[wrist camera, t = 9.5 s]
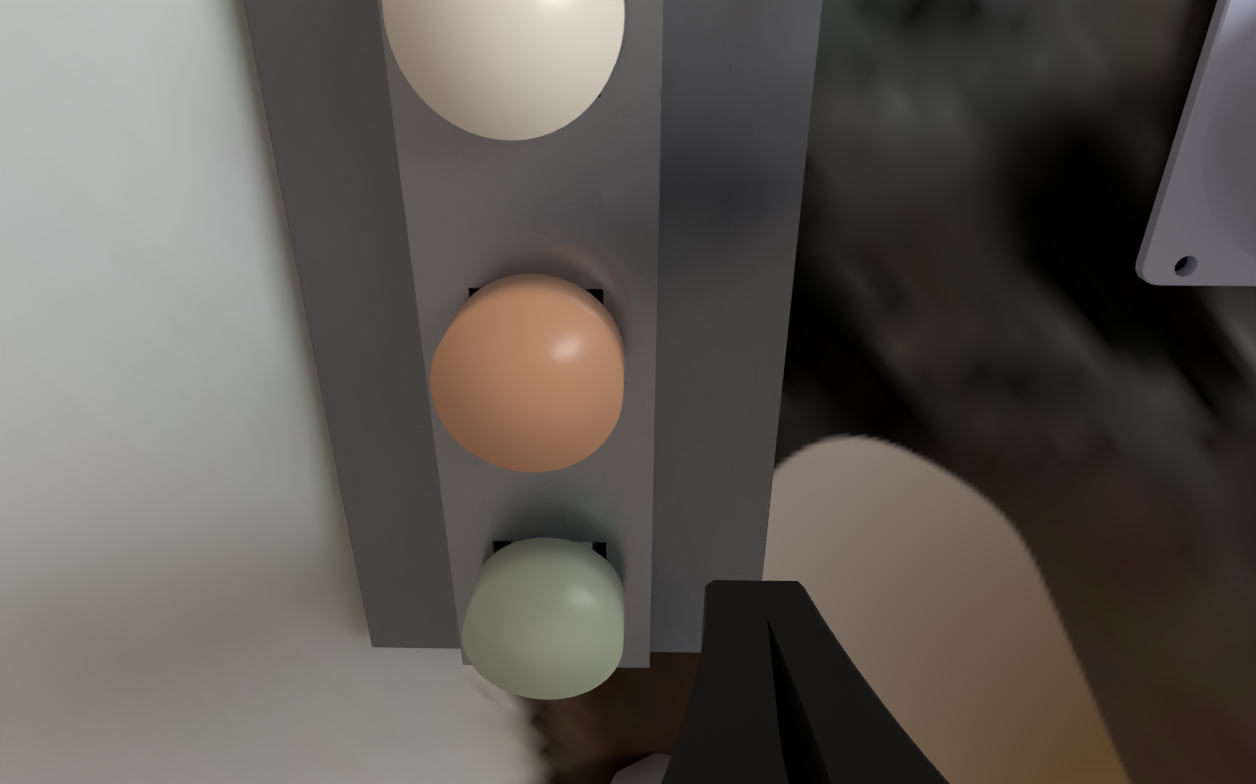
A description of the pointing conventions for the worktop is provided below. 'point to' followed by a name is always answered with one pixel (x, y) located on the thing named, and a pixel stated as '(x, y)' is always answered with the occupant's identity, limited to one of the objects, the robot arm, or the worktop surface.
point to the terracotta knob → (530, 374)
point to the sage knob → (546, 619)
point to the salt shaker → (644, 771)
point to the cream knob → (506, 59)
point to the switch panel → (699, 298)
